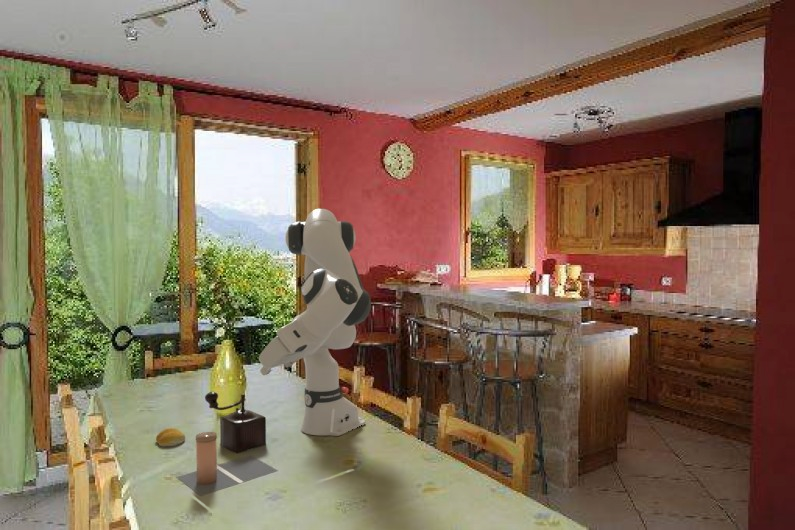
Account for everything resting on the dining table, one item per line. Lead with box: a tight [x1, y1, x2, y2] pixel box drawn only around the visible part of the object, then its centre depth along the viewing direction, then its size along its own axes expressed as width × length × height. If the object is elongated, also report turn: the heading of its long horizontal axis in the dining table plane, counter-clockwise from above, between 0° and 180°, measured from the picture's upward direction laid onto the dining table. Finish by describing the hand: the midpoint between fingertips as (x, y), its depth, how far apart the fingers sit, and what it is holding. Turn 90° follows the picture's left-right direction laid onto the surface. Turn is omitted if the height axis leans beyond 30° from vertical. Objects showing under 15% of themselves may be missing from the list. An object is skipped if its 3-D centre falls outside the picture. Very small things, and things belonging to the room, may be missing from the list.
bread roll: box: [155, 427, 186, 447], centre depth 172 cm, size 8×9×4 cm
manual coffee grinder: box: [204, 391, 267, 454], centre depth 167 cm, size 16×11×18 cm
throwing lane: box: [175, 454, 279, 497], centre depth 147 cm, size 22×15×1 cm
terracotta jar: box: [195, 431, 218, 484], centre depth 143 cm, size 5×5×12 cm
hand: (275, 368), depth 138 cm, fingers open, 8 cm apart
